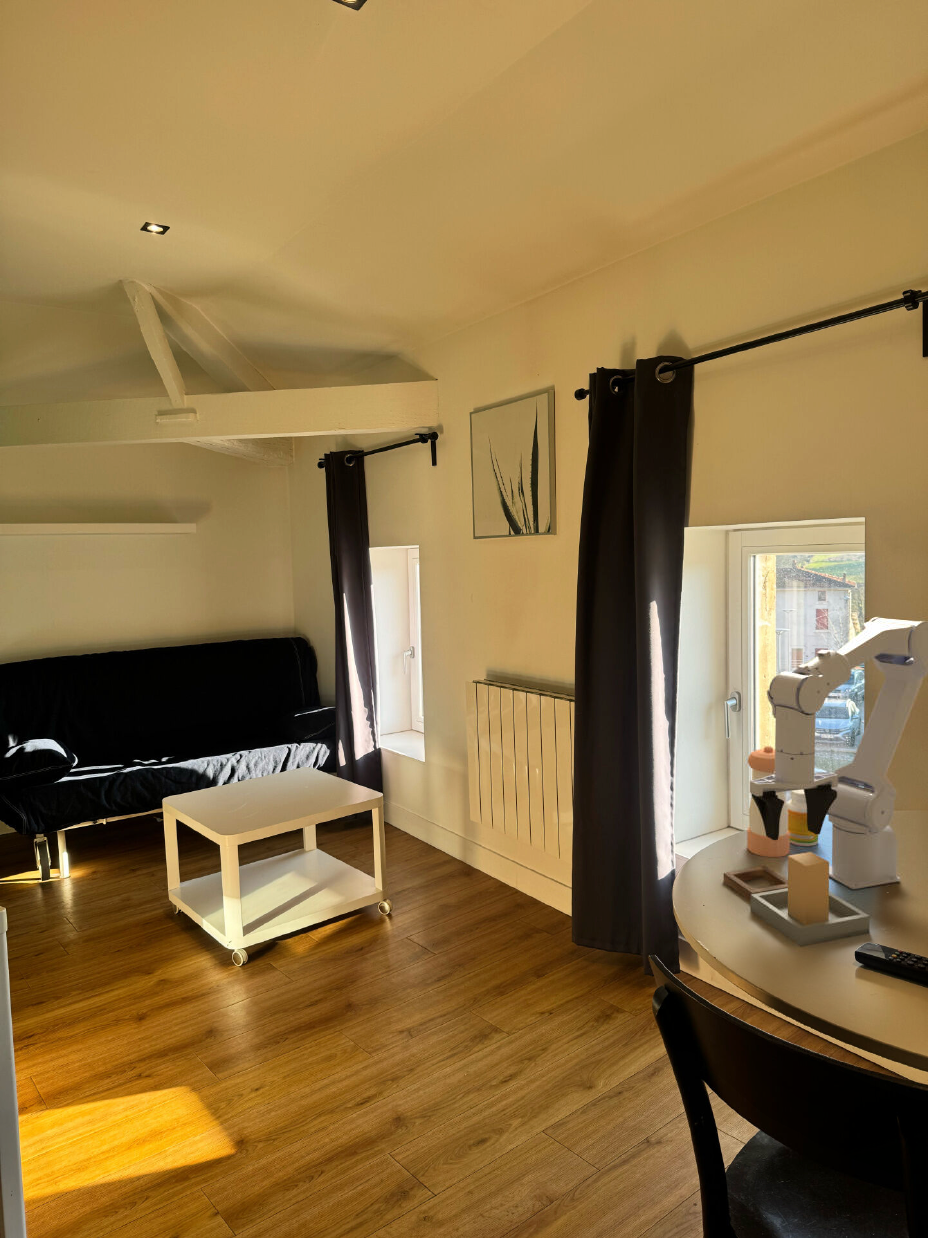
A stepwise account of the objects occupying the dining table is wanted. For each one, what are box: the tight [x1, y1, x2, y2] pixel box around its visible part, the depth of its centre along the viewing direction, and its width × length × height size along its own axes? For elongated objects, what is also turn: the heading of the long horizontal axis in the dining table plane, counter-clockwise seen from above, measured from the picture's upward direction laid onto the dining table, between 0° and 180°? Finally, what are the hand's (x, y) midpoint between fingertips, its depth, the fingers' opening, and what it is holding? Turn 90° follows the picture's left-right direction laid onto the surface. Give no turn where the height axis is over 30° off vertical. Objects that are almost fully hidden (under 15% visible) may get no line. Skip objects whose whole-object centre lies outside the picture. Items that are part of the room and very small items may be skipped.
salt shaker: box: [746, 745, 791, 858], centre depth 148 cm, size 7×7×19 cm
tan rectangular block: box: [787, 851, 830, 925], centre depth 122 cm, size 4×4×9 cm
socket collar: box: [723, 865, 788, 902], centre depth 134 cm, size 8×8×2 cm
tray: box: [750, 888, 871, 947], centre depth 122 cm, size 12×12×2 cm
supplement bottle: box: [786, 789, 819, 847], centre depth 152 cm, size 5×5×10 cm
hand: (793, 835), depth 128 cm, fingers open, 7 cm apart
